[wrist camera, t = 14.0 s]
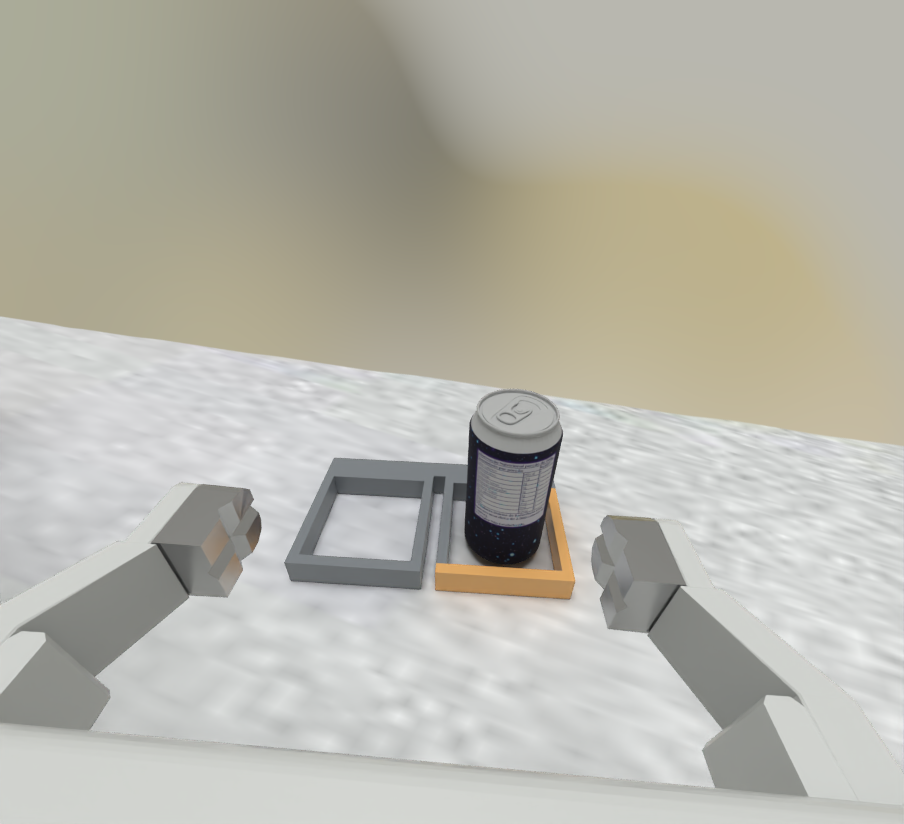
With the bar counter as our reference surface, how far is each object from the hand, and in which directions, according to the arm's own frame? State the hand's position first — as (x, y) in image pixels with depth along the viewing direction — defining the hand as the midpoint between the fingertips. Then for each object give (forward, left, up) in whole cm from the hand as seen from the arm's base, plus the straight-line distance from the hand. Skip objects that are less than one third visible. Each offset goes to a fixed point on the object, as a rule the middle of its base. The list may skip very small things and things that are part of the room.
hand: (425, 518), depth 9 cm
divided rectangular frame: (-1, +14, -18) cm, 22 cm away
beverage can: (+4, +14, -18) cm, 23 cm away
